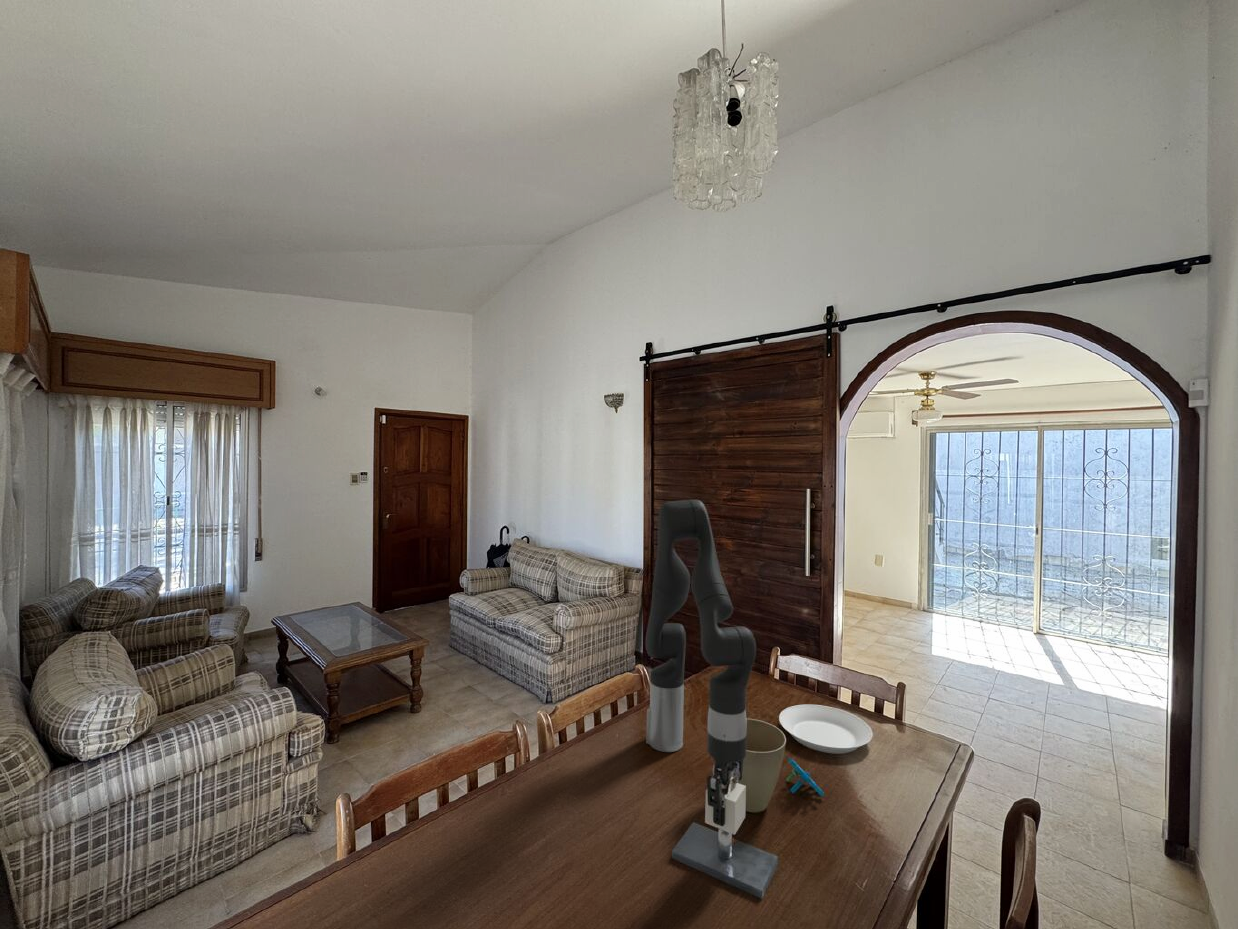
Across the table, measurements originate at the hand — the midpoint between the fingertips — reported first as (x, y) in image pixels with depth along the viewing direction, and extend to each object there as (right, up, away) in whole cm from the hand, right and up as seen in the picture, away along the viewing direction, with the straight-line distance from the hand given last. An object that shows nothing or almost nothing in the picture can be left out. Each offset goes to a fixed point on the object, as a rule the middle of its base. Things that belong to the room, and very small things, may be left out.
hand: (725, 814), depth 106 cm
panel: (0, -9, 0) cm, 9 cm away
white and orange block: (0, -1, 0) cm, 1 cm away
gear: (+23, -10, +23) cm, 34 cm away
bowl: (+38, -10, +49) cm, 63 cm away
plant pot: (+10, -9, +18) cm, 23 cm away
